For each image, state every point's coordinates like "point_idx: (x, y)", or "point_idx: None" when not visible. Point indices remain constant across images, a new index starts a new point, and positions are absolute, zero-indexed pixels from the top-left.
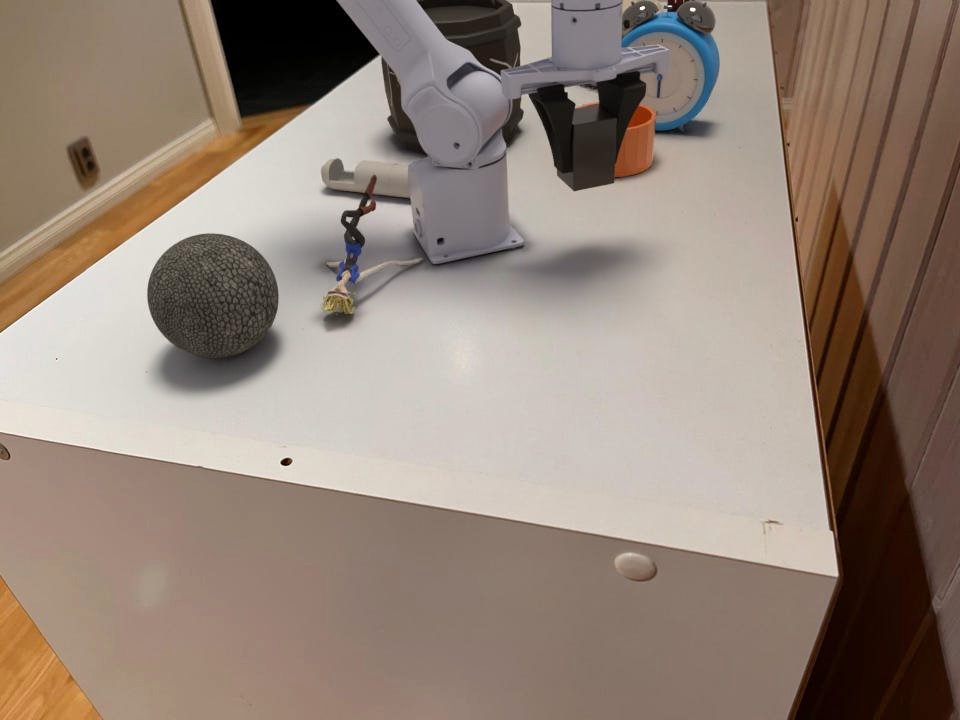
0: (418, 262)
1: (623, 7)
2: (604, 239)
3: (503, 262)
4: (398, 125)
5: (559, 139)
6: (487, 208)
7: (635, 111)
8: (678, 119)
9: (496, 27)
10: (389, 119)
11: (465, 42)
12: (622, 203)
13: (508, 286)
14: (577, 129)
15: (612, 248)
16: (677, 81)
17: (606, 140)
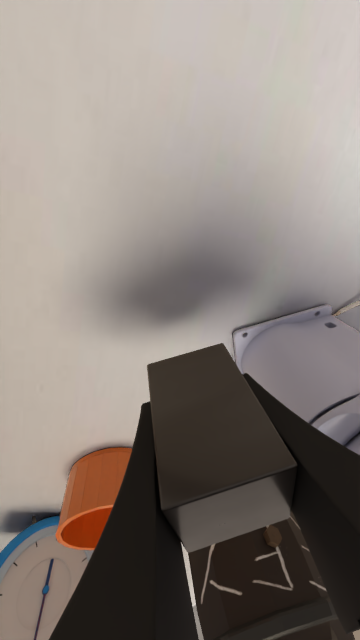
0: (339, 309)
1: None
2: (143, 338)
3: (261, 302)
4: None
5: (308, 424)
6: (300, 354)
7: (80, 537)
8: (34, 531)
9: None
10: None
11: (283, 621)
12: (111, 405)
13: (274, 249)
14: (279, 454)
15: (137, 318)
16: (24, 587)
17: (180, 436)
